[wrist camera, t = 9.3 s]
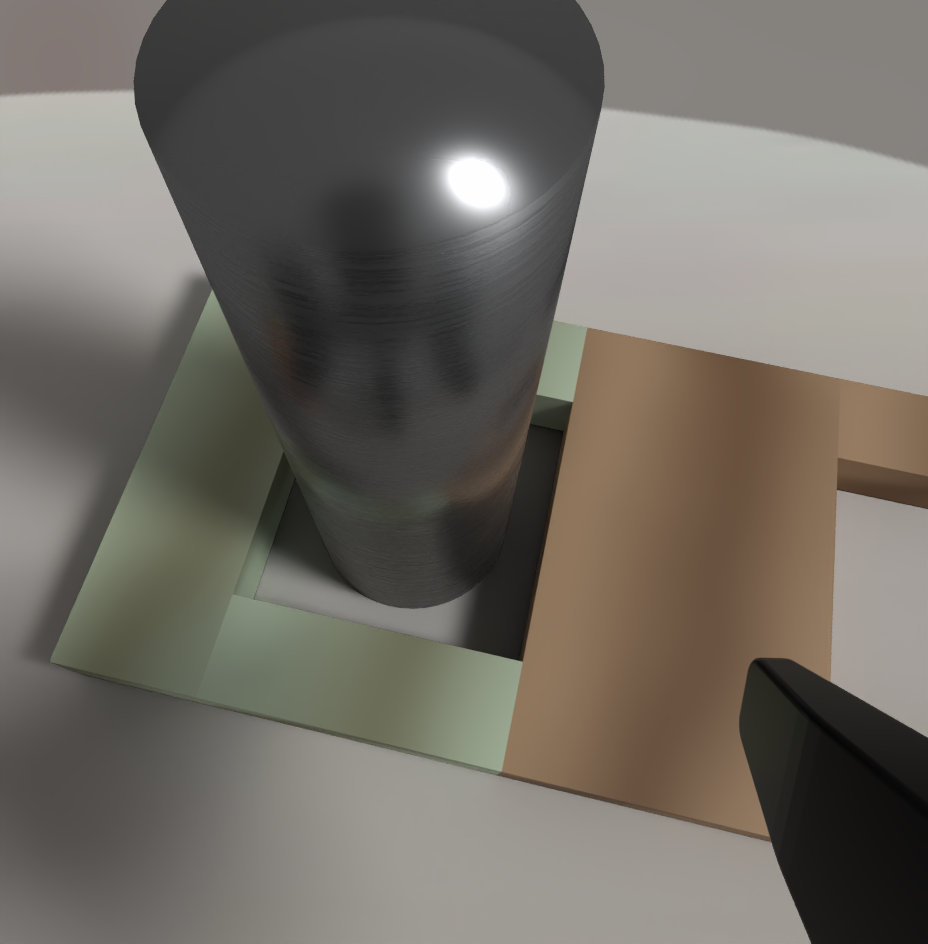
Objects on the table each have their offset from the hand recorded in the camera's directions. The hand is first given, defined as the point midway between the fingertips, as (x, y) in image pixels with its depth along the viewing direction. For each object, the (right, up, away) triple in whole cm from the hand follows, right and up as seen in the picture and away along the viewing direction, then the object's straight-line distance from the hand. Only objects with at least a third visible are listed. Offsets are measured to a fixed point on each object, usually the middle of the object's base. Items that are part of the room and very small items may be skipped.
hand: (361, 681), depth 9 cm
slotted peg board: (+6, 0, +10) cm, 12 cm away
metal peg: (0, +1, +11) cm, 11 cm away
